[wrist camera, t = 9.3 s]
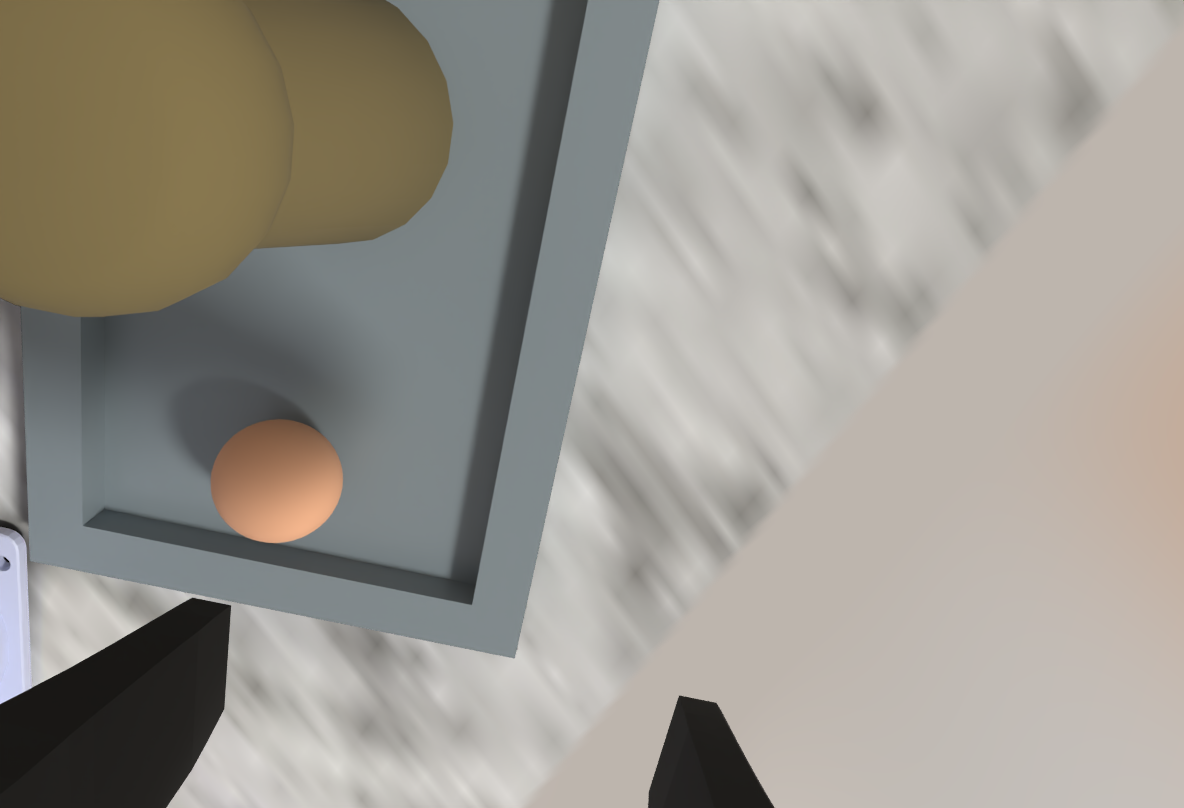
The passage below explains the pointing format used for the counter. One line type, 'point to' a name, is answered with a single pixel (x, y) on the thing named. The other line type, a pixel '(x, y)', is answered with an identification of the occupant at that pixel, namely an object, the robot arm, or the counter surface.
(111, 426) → the tray
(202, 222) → the pepper shaker
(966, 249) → the counter surface
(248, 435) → the ball
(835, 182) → the counter surface
